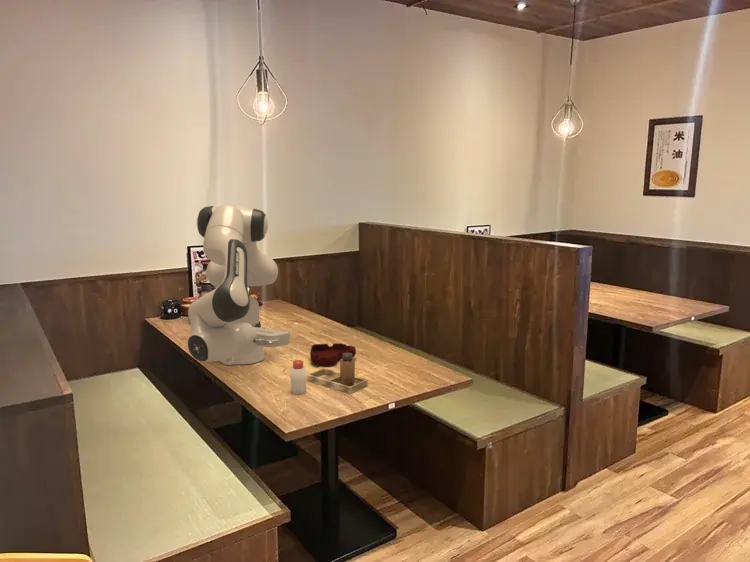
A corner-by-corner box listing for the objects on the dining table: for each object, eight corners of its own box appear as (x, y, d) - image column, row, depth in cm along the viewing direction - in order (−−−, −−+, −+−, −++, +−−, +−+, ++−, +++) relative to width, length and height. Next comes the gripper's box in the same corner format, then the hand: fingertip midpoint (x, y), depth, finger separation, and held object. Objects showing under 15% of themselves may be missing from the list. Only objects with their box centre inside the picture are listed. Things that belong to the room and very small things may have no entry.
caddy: (306, 383, 195) (306, 374, 194) (324, 376, 202) (324, 367, 201) (350, 396, 183) (350, 387, 183) (367, 388, 190) (367, 379, 190)
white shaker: (288, 394, 185) (287, 361, 183) (298, 390, 189) (298, 358, 186) (298, 398, 182) (298, 365, 180) (309, 393, 186) (308, 361, 184)
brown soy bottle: (337, 386, 189) (337, 354, 187) (346, 382, 193) (346, 351, 191) (348, 390, 186) (348, 357, 184) (357, 385, 190) (357, 353, 188)
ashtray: (328, 351, 230) (328, 339, 229) (359, 359, 220) (359, 347, 219) (295, 362, 217) (295, 349, 216) (327, 372, 207) (327, 358, 206)
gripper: (269, 331, 155) (303, 325, 166) (216, 324, 166) (251, 318, 177) (269, 354, 155) (303, 346, 167) (217, 345, 166) (251, 338, 178)
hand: (276, 331), depth 172 cm, fingers open, 8 cm apart
